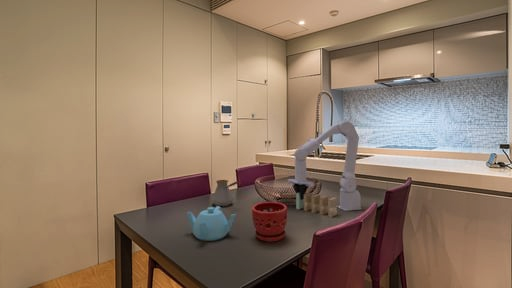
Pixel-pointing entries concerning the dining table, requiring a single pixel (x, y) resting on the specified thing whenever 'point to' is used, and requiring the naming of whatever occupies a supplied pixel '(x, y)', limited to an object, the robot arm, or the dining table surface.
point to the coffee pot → (223, 193)
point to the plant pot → (269, 221)
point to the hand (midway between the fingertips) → (300, 198)
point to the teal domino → (299, 201)
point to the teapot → (210, 224)
